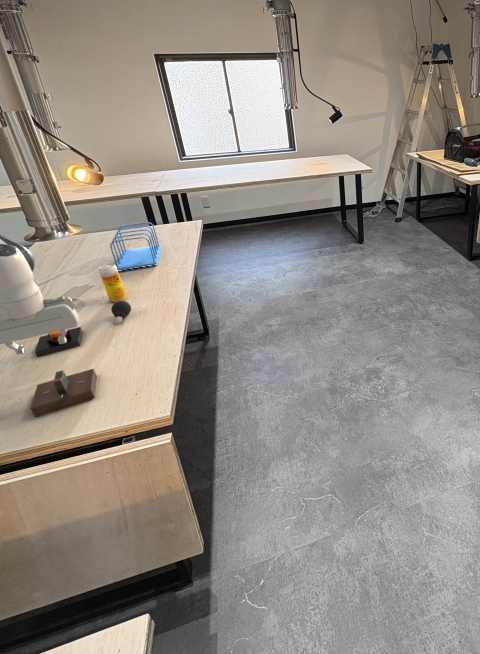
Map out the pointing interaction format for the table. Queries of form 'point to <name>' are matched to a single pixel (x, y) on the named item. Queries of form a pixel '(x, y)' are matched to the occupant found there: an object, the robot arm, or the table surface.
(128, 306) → the light bulb
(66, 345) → the button block
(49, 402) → the rod panel
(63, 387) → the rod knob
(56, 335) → the button
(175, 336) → the table surface
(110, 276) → the yellow canister
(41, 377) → the table surface
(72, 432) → the table surface
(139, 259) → the file sorter
